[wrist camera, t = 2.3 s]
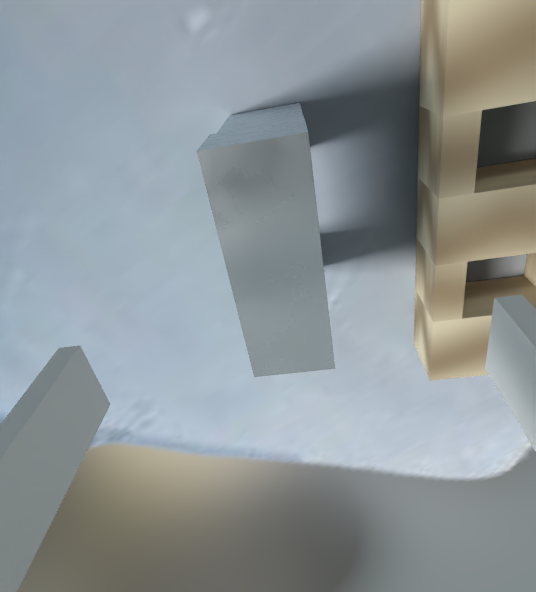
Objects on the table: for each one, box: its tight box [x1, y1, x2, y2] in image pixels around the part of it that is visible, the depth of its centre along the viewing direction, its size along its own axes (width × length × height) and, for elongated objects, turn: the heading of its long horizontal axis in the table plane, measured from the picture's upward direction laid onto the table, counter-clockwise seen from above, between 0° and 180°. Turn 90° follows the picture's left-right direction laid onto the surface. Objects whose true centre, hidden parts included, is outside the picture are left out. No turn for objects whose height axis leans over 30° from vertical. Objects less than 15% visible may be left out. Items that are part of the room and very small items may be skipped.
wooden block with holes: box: [414, 0, 536, 380], centre depth 23 cm, size 22×9×4 cm, turn 10°
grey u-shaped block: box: [197, 102, 335, 377], centre depth 21 cm, size 11×4×10 cm, turn 10°
